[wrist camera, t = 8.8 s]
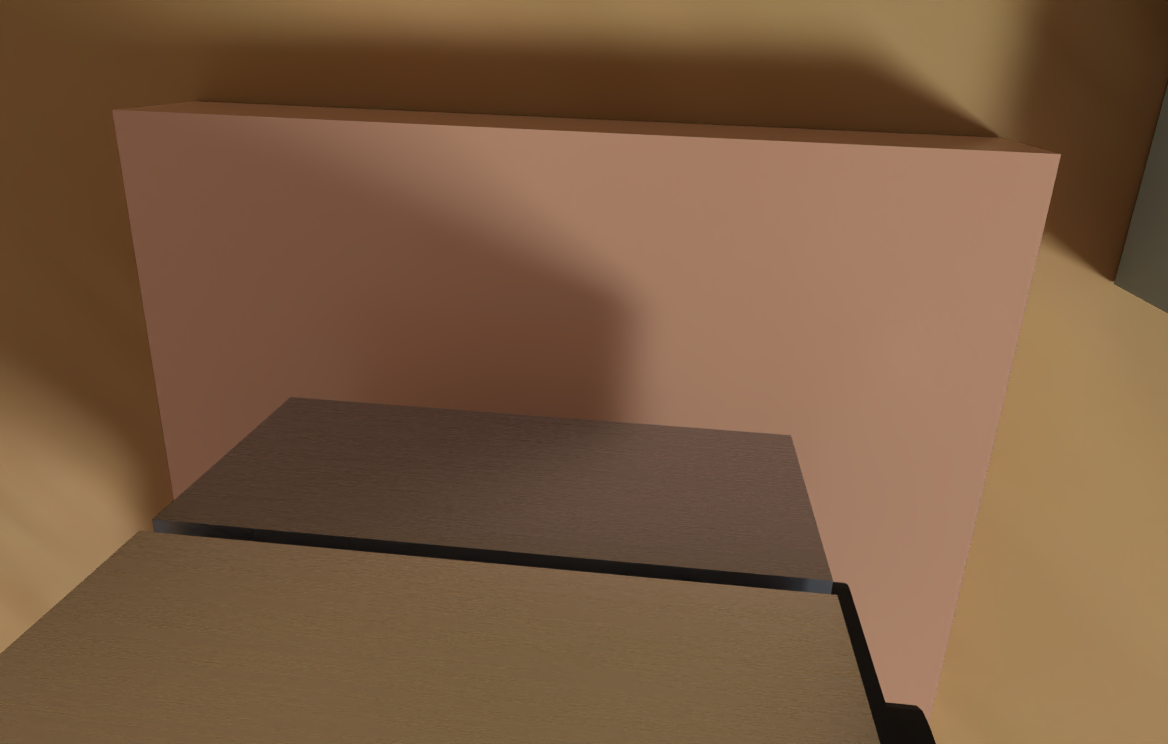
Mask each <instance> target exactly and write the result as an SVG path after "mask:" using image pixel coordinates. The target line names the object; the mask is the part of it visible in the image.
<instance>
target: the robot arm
mask: <svg viewBox="0 0 1168 744" xmlns="http://www.w3.org/2000/svg"><path fill="white" fill-rule="evenodd" d="M831 594H832V595H837V596H838V599H839V603H840V606H841V610H842V613H843V617H844V620H845V624H846V627H847V631H848V634H849V638H850V641H851V644H852V648H853V651H854V655H855V658H856V662H857V665H858V669H859V672H860V676H861V679H862V682H863V686H864V689H865V693H866V696H867V700H868V703H869V707H870V710H871V714H872V717H873V720H874V724H875V727H876V731H877V734H878V738H879V741H880V744H936V743H935V740H934V737H933V735H932V732H931V729H930V727H929V724H928V721H927V719H926V717H925V715H924V713H923V711H922V710H921V709H920V708H919V707H918V706H917V705H908V704H898V703H888V702H885V700H884V696H883V693H882V690H881V687H880V684H879V680H878V677H877V674H876V671H875V668H874V665H873V661H872V658H871V655H870V652H869V649H868V645H867V642H866V639H865V636H864V633H863V629H862V626H861V623H860V620H859V617H858V613H857V610H856V607H855V604H854V601H853V597H852V594H851V591H850V588H849V586H848V584H846V583H842V582H833V584H832V590H831Z"/></svg>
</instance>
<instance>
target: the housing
mask: <svg viewBox="0 0 1168 744" xmlns="http://www.w3.org/2000/svg"><path fill="white" fill-rule="evenodd" d="M152 520H153V526H154V532H145V531H139V532H137V533H136V534H135V535H134V536H133V537H132V538H131V539H129V540H128V541H127V542H126V543H125V544H124V545H123V546H122V547H120V548H119V549H118V550H117V551H116V552H115V553H114V554H113V555H111V556H110V557H109V558H108V559H107V560H106V561H105V562H104V563H102V564H101V565H100V566H99V567H98V568H97V569H96V570H94V571H93V572H92V573H91V574H90V575H89V576H88V577H87V578H85V579H84V580H83V581H82V582H81V583H80V584H79V585H78V586H76V587H75V588H74V589H73V590H72V591H71V592H70V593H68V594H67V595H66V596H65V597H64V598H63V599H62V600H61V601H59V602H58V603H57V604H56V605H55V606H54V607H53V608H52V609H50V610H49V611H48V612H47V613H46V614H45V615H44V616H42V617H41V618H40V619H39V620H38V621H37V622H36V623H35V624H33V625H32V626H31V627H30V628H29V629H28V630H27V631H26V632H24V633H23V634H22V635H21V636H20V637H19V638H18V639H16V640H15V641H14V642H13V643H12V644H11V645H10V646H9V647H7V648H6V649H5V650H4V651H3V652H2V653H1V654H0V744H880V741H879V738H878V734H877V731H876V727H875V724H874V720H873V717H872V714H871V710H870V707H869V703H868V700H867V696H866V693H865V689H864V686H863V682H862V679H861V676H860V672H859V669H858V665H857V662H856V658H855V655H854V651H853V648H852V644H851V641H850V638H849V634H848V631H847V627H846V624H845V620H844V617H843V613H842V610H841V606H840V603H839V599H838V596H837V595H832V594H831V590H832V584H833V579H832V575H831V572H830V568H829V565H828V561H827V558H826V555H825V551H824V548H823V544H822V541H821V537H820V534H819V530H818V527H817V523H816V520H815V517H814V513H813V510H812V506H811V503H810V499H809V496H808V492H807V489H806V485H805V482H804V479H803V475H802V472H801V468H800V465H799V461H798V458H797V454H796V451H795V447H794V444H793V440H792V437H791V435H783V434H769V433H756V432H743V431H730V430H717V429H704V428H691V427H678V426H664V425H651V424H638V423H625V422H612V421H599V420H586V419H573V418H560V417H546V416H533V415H520V414H507V413H494V412H481V411H468V410H455V409H441V408H428V407H415V406H402V405H389V404H376V403H363V402H350V401H336V400H323V399H310V398H297V397H290V398H289V399H288V400H287V401H285V402H284V403H283V404H282V405H281V406H280V407H279V408H278V409H276V410H275V411H274V412H273V413H272V414H271V415H270V416H269V417H267V418H266V419H265V420H264V421H263V422H262V423H261V424H259V425H258V426H257V427H256V428H255V429H254V430H253V431H252V432H250V433H249V434H248V435H247V436H246V437H245V438H244V439H243V440H241V441H240V442H239V443H238V444H237V445H236V446H235V447H233V448H232V449H231V450H230V451H229V452H228V453H227V454H226V455H224V456H223V457H222V458H221V459H220V460H219V461H218V462H217V463H215V464H214V465H213V466H212V467H211V468H210V469H209V470H207V471H206V472H205V473H204V474H203V475H202V476H201V477H200V478H198V479H197V480H196V481H195V482H194V483H193V484H192V485H191V486H189V487H188V488H187V489H186V490H185V491H184V492H183V493H181V494H180V495H179V496H178V497H177V498H176V499H175V500H174V501H172V502H171V503H170V504H169V505H168V506H167V507H166V508H165V509H163V510H162V511H161V512H160V513H159V514H158V515H157V516H155V517H154V518H153V519H152Z"/></svg>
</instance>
